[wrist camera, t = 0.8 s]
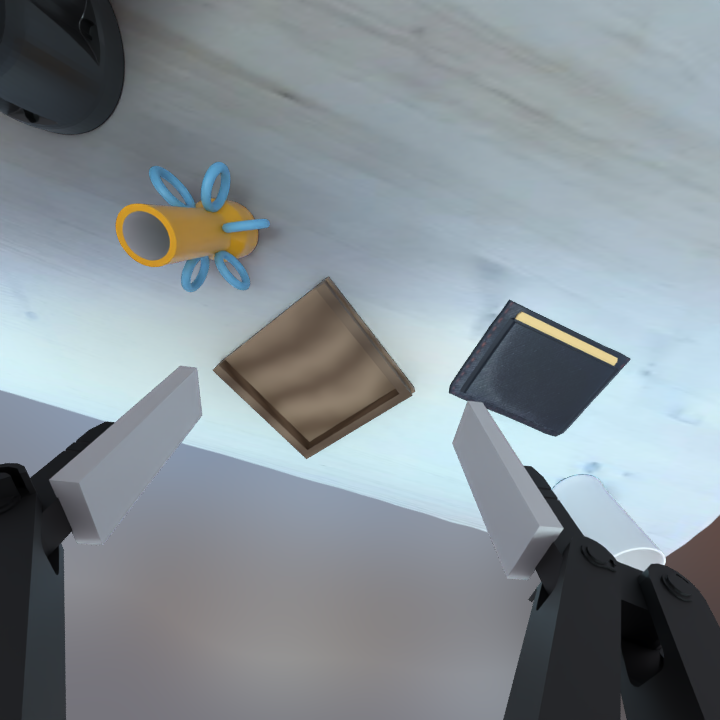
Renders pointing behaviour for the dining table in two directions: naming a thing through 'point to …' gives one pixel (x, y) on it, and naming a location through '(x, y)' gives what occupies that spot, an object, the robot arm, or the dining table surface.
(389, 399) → the open-sided tray
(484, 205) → the dining table surface
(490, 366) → the wallet
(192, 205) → the cylinder
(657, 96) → the dining table surface
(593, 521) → the mug
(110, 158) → the dining table surface
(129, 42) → the dining table surface
